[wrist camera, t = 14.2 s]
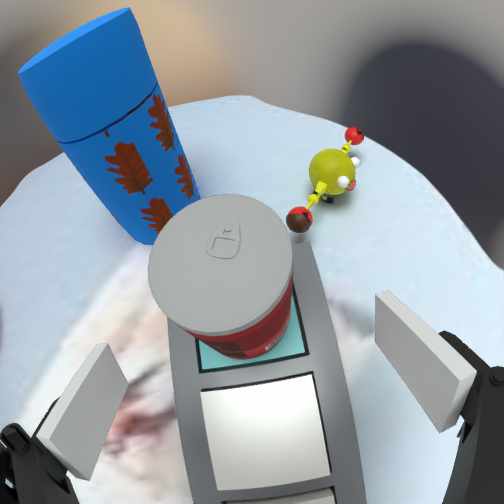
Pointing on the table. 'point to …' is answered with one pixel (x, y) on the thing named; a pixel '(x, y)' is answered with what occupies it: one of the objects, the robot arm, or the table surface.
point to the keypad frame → (314, 362)
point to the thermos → (113, 121)
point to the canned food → (225, 274)
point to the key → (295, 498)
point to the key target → (282, 351)
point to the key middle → (265, 434)
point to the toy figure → (328, 179)
